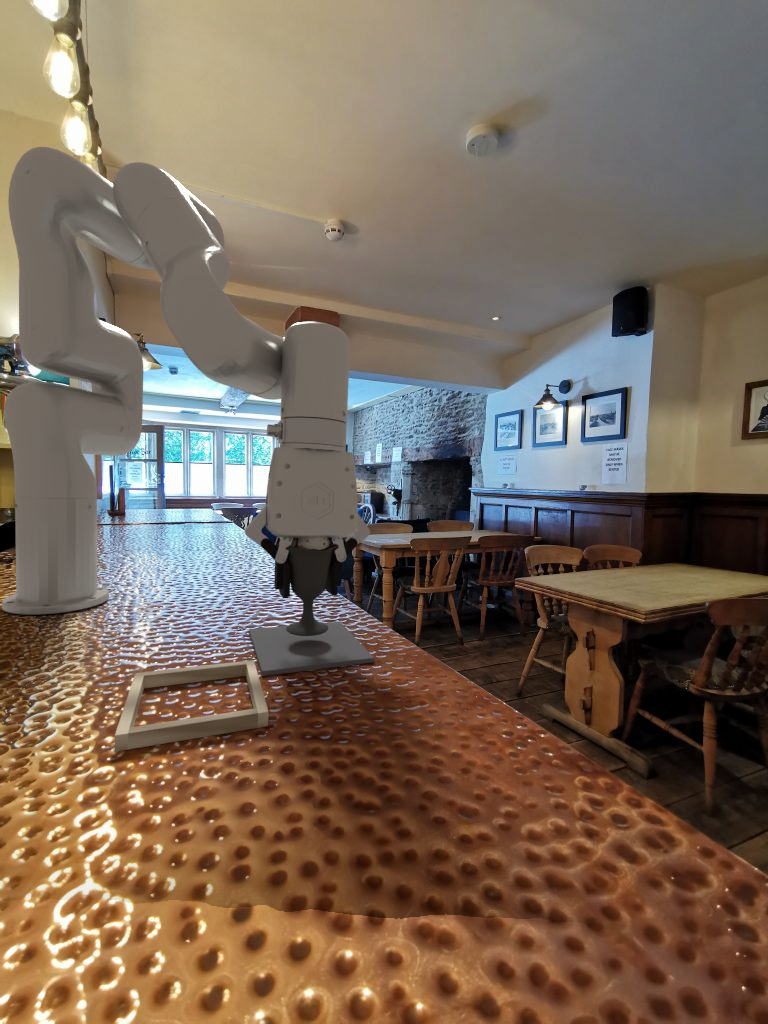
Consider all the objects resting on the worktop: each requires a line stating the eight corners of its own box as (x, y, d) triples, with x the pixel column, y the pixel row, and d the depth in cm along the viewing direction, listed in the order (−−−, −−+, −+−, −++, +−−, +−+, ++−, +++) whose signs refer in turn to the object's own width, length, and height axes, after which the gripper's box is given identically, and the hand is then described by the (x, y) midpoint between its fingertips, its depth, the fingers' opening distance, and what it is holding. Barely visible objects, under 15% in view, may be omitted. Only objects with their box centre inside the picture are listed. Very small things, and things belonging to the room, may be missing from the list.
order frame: (135, 685, 41) (135, 673, 41) (253, 671, 45) (253, 660, 45) (114, 751, 31) (114, 735, 31) (268, 726, 35) (268, 711, 35)
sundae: (325, 641, 48) (330, 505, 47) (268, 635, 50) (271, 502, 49) (343, 623, 55) (347, 503, 54) (292, 618, 56) (295, 500, 55)
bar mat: (249, 632, 56) (249, 629, 56) (339, 625, 61) (339, 621, 61) (262, 676, 44) (262, 671, 44) (373, 662, 49) (374, 657, 49)
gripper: (238, 428, 44) (234, 607, 45) (394, 442, 51) (386, 598, 52) (233, 435, 51) (229, 590, 52) (370, 445, 58) (364, 583, 59)
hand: (308, 592), depth 52 cm, fingers closed on sundae, 4 cm apart
